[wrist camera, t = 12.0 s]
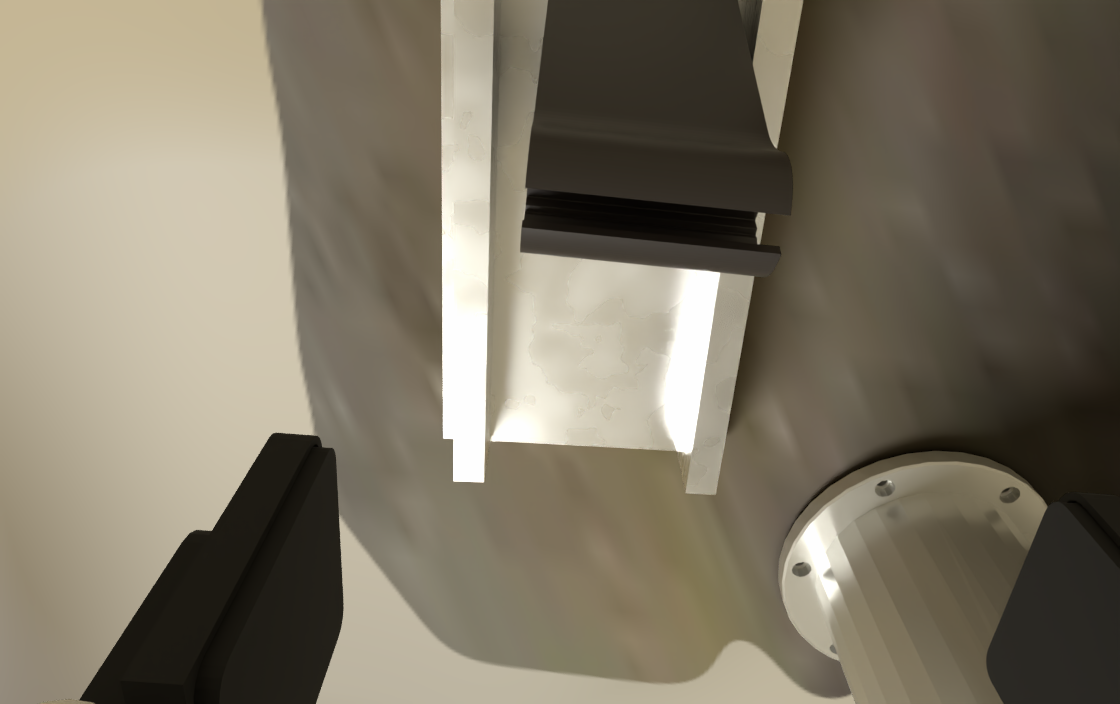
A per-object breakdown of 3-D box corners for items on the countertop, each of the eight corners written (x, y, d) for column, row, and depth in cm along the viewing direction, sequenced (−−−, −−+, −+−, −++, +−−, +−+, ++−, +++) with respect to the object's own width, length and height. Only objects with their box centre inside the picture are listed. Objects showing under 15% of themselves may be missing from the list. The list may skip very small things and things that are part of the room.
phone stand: (552, -37, 27) (542, -13, 17) (733, -15, 27) (839, 23, 17) (526, 226, 31) (505, 382, 21) (684, 243, 32) (744, 406, 21)
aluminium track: (861, -378, 24) (912, -432, 20) (719, 440, 37) (735, 495, 33) (443, -409, 24) (421, -468, 20) (446, 425, 36) (433, 479, 33)
